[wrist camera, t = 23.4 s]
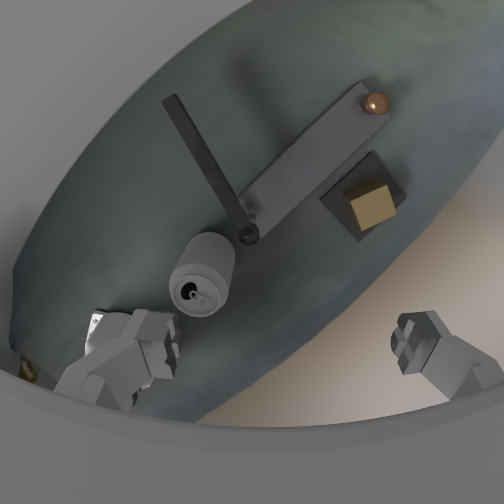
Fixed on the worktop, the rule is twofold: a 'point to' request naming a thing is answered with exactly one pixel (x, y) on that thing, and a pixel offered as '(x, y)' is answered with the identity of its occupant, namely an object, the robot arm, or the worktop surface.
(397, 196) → the mat
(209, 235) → the can
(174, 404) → the worktop surface
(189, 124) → the lever
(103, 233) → the worktop surface
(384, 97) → the body
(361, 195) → the brown wooden block
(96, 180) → the worktop surface
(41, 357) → the worktop surface
